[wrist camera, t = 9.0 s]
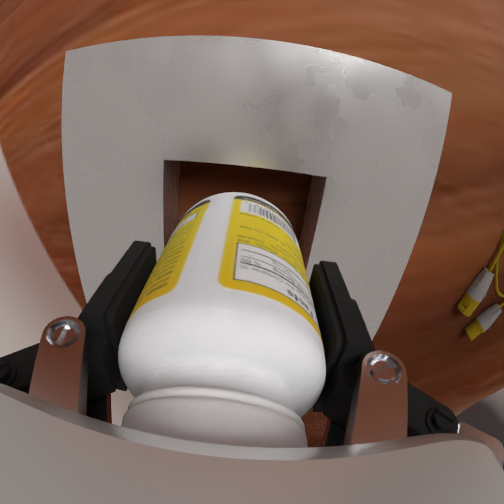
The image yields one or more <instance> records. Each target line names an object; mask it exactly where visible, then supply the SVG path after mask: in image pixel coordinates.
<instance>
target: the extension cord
mask: <svg viewBox="0 0 504 504" xmlns="http://www.w3.org/2000/svg"><path fill="white" fill-rule="evenodd" d="M503 249H504V231H503V234H502V237H501V241H500V244H499V248H498V252H497V254H496V256H495V258H494V260H493V262H492V263H491V265H490V267H489V268H488V267H487V268H486V267H484V269H483V270H482V271H481V272H480V273H479V274H478V276H477V277H476V278H475V279H474V281H473V282H472V284H470V286H469V288H468V289H467V291H466V292H465V294H464V296H463V297H462V299H461V300H460V302H459V303H458V305H457V308H458V310H459V311H460V312H461V313H462V314H464V315H466V316H468V317H469V316H471V314H472V313H473V312H474V310H475V309H476V308H477V306H478V305H479V303H480V302H481V301H482V299H483V298H484V297H485V296H486V292H487V290H488V288H489V286H490V284H491V281H492V278H493V276H494V273H493V271H492V269H493V267H494V266H495V264H496V266H495V290H496V293H497V294H498V295H499V296H500V297H503V298H504V294H502V293H501V292H500V291H499V289H498V265H499V258H500V255H501V253H502V251H503ZM503 305H504V301H503V302H502V303H501V304H500V305H498V304H497V303H495V304H494V305H492V306H491V307H489V308H487V309H486V310H484V311H483V312H482V313H480V314H479V315H478V316H477V317H476V318H475V320H474V321H473V322H471V323H470V324H469V325H468V326H467V327H465V328H464V329H465V330H466V334H467V335H468V337H469V338H470V340H471V341H472V340H473V339H475V338H476V337H477V336H478V335H479V334H481V333H484V332H485V331H486V330H487V329H488V328H490V326H491V325H492V324H493V323H494V321H495V320H496V319H497V317H498V316H499V315H500V313H502V311H501V307H502V306H503Z"/></svg>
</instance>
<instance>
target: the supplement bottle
mask: <svg viewBox="0 0 504 504" xmlns="http://www.w3.org/2000/svg"><path fill="white" fill-rule="evenodd" d="M118 363H119V369H120V372H121V375H122V378H123V380H124V382H125V384H126V386H127V388H128V389H129V391H130V392H131V394H132V395H133V396H134V397H135V398H134V399H133V400H132V401H131V403H130V404H129V406H128V411H127V412H126V413H125V415H124V416H123V421H122V425H121V427H125V428H129V429H133V430H137V431H142V432H146V433H151V434H156V435H160V436H166V437H171V438H177V439H183V440H189V441H196V442H203V443H211V444H220V445H231V446H244V447H264V448H308V446H307V437H306V434H305V426H304V423H303V421H302V420H301V417H302V416H303V415H304V414H306V413H307V412H308V411H309V410H310V409H311V407H312V406H313V405H314V404H315V403H316V401H317V399H318V398H319V396H320V394H321V392H322V389H323V386H324V383H325V377H326V363H325V355H324V347H323V343H322V338H321V334H320V330H319V326H318V321H317V317H316V313H315V308H314V304H313V299H312V295H311V291H310V287H309V282H308V279H307V275H306V270H305V267H304V263H303V259H302V255H301V251H300V247H299V244H298V241H297V237H296V234H295V232H294V230H293V227H292V225H291V224H290V222H289V220H288V219H287V218H286V216H285V215H284V214H283V213H282V212H281V211H280V210H279V209H278V208H277V207H275V206H274V205H273V204H271V203H270V202H268V201H266V200H264V199H263V198H260V197H258V196H255V195H251V194H247V193H239V192H228V193H221V194H217V195H213V196H210V197H208V198H205V199H203V200H201V201H200V202H198V203H197V204H195V205H194V206H193V207H191V208H190V209H189V210H188V211H187V212H186V213H185V215H184V216H183V217H182V219H181V220H180V222H179V223H178V225H177V226H176V228H175V230H174V232H173V233H172V235H171V237H170V239H169V241H168V243H167V245H166V247H165V248H164V250H163V252H162V254H161V256H160V257H159V259H158V261H157V263H156V265H155V267H154V269H153V271H152V273H151V275H150V276H149V278H148V281H147V283H146V285H145V286H144V288H143V290H142V292H141V294H140V296H139V299H138V301H137V303H136V305H135V307H134V309H133V311H132V313H131V315H130V317H129V319H128V321H127V323H126V326H125V329H124V332H123V334H122V337H121V340H120V343H119V349H118Z"/></svg>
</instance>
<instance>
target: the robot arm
mask: <svg viewBox="0 0 504 504" xmlns="http://www.w3.org/2000/svg"><path fill="white" fill-rule="evenodd" d="M156 263H157V261H156V248H155V247H153V246H151V243H150V242H144V241H134V242H133V243H132V244H131V246H130V247H129V248H128V250H127V251H126V252H125V254H124V255H123V256H122V258H121V259H120V261H119V262H118V263H117V265H116V266H115V268H114V269H113V270H112V272H111V273H109V274H108V275H107V276H106V277H105V278H104V280H103V281H102V283H101V284H100V285H99V287H98V288H97V290H96V291H95V293H94V294H93V296H92V297H91V299H90V300H89V302H88V303H87V305H86V306H85V308H84V309H83V311H82V313H81V314H80V315H79V317H78V318H75V317H70V316H66V317H60V318H57V319H55V320H53V321H52V322H50V323H49V324H48V325H47V326H46V327H45V329H44V331H43V333H42V337H41V340H40V343H38V344H35V345H33V346H30V347H28V348H25V349H22V350H20V351H17V352H14V353H12V354H9V355H6V356H4V357H1V358H0V504H504V471H503V469H502V465H503V460H504V449H503V446H502V444H501V443H500V441H498V440H497V439H495V438H493V437H491V436H489V435H487V434H485V433H483V432H481V431H479V430H477V429H475V428H473V427H471V426H469V425H467V424H466V423H464V422H461V423H460V424H458V421H457V418H456V416H455V415H454V413H453V412H452V411H451V410H450V409H449V408H448V407H446V406H444V405H443V404H441V403H440V402H438V401H436V400H435V399H433V398H431V397H430V396H428V395H427V394H425V393H423V392H422V391H420V390H419V389H417V388H415V387H414V386H412V385H411V384H409V383H407V372H406V367H405V366H404V364H403V362H402V361H401V360H400V359H399V358H398V357H397V356H395V355H393V354H392V353H389V352H386V351H380V350H378V351H375V348H374V345H373V343H372V340H371V337H370V335H369V332H368V330H367V327H366V324H365V322H364V319H363V317H362V314H361V312H360V309H359V307H358V304H357V302H356V301H355V300H354V299H351V297H350V294H349V292H348V289H347V287H346V284H345V282H344V279H343V277H342V274H341V272H340V270H339V267H338V265H337V263H336V262H330V261H320V262H319V264H314V266H313V269H312V273H311V277H310V281H309V287H310V291H311V295H312V299H313V304H314V308H315V313H316V317H317V321H318V326H319V330H320V334H321V338H322V343H323V347H324V355H325V363H326V377H325V383H324V386H323V389H322V392H321V394H320V396H319V398H318V399H317V401H316V403H315V404H314V405H313V412H323V414H324V415H325V416H326V417H328V420H327V424H326V428H325V432H324V436H323V440H322V444H321V447H312V448H264V447H244V446H231V445H220V444H211V443H203V442H196V441H189V440H183V439H177V438H171V437H166V436H160V435H156V434H151V433H146V432H142V431H137V430H133V429H129V428H125V427H121V426H118V425H114V424H112V417H111V393H113V392H115V390H116V389H119V390H123V391H126V390H127V386H126V384H125V382H124V380H123V378H122V375H121V372H120V369H119V363H118V349H119V343H120V340H121V337H122V334H123V332H124V329H125V326H126V323H127V321H128V319H129V317H130V315H131V313H132V311H133V309H134V307H135V305H136V303H137V301H138V299H139V296H140V294H141V292H142V290H143V288H144V286H145V285H146V283H147V281H148V278H149V276H150V275H151V273H152V271H153V269H154V267H155V265H156Z"/></svg>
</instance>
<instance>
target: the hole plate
mask: <svg viewBox="0 0 504 504" xmlns="http://www.w3.org/2000/svg"><path fill="white" fill-rule="evenodd" d="M451 98H452V93H451V92H448V91H446V90H444V89H442V88H440V87H438V86H435V85H433V84H431V83H429V82H426V81H424V80H421V79H419V78H416V77H414V76H411V75H409V74H406V73H404V72H401V71H398V70H395V69H392V68H390V67H387V66H384V65H381V64H377V63H374V62H371V61H368V60H364V59H361V58H357V57H354V56H350V55H346V54H342V53H338V52H334V51H330V50H325V49H321V48H316V47H311V46H305V45H300V44H294V43H288V42H281V41H273V40H265V39H256V38H244V37H229V36H167V37H152V38H141V39H132V40H124V41H117V42H110V43H104V44H98V45H93V46H88V47H83V48H79V49H74V50H70V51H66V55H65V64H64V75H63V91H62V155H63V170H64V182H65V192H66V201H67V209H68V216H69V223H70V229H71V235H72V241H73V246H74V251H75V256H76V261H77V266H78V270H79V274H80V279H81V283H82V287H83V291H84V295H85V298H86V302H87V303H88V302H89V300H90V299H91V297H92V296H93V294H94V293H95V291H96V290H97V288H98V287H99V285H100V284H101V283H102V281H103V280H104V278H105V277H106V276H107V275H108V274H109V273H111V272H112V270H113V269H114V268H115V266H116V265H117V263H118V262H119V261H120V259H121V258H122V256H123V255H124V254H125V252H126V251H127V250H128V248H129V247H130V246H131V244H132V243H133V242H134V241H144V242H150V243H151V246H153V247H155V248H156V261H158V259H159V257H160V256H161V254H162V252H163V250H164V248H165V247H166V245H167V243H168V241H169V239H170V237H171V235H172V233H173V232H174V230H175V228H176V226H177V225H178V223H179V178H180V161H194V162H207V163H219V164H230V165H240V166H249V167H258V168H267V169H275V170H282V171H289V172H296V173H303V174H310V175H312V178H311V184H310V189H309V194H308V200H307V205H306V210H305V215H304V220H303V225H302V230H301V235H300V240H299V247H300V251H301V255H302V259H303V263H304V267H305V270H306V275H307V279H308V282H309V281H310V277H311V273H312V269H313V266H314V264H319V262H320V261H330V262H336V263H337V265H338V267H339V270H340V272H341V274H342V277H343V279H344V282H345V284H346V287H347V289H348V292H349V294H350V297H351V299H354V300H355V301H356V302H357V304H358V307H359V309H360V312H361V314H362V317H363V319H364V322H365V324H366V327H367V330H368V332H369V335H370V337H371V340H373V338H374V336H375V334H376V332H377V330H378V328H379V326H380V324H381V322H382V320H383V318H384V316H385V314H386V311H387V309H388V307H389V305H390V303H391V301H392V298H393V296H394V294H395V292H396V289H397V287H398V285H399V282H400V280H401V277H402V275H403V273H404V270H405V268H406V265H407V263H408V260H409V257H410V255H411V252H412V250H413V247H414V244H415V241H416V239H417V236H418V233H419V230H420V227H421V224H422V221H423V218H424V215H425V212H426V208H427V205H428V202H429V199H430V195H431V192H432V188H433V185H434V181H435V177H436V173H437V169H438V165H439V161H440V157H441V153H442V148H443V143H444V139H445V134H446V128H447V123H448V117H449V111H450V105H451Z"/></svg>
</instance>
